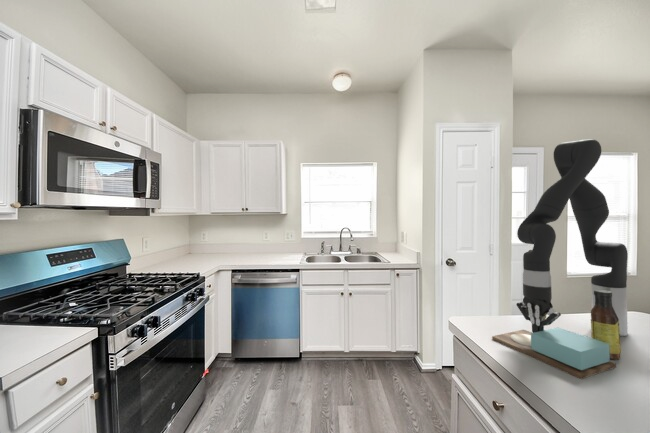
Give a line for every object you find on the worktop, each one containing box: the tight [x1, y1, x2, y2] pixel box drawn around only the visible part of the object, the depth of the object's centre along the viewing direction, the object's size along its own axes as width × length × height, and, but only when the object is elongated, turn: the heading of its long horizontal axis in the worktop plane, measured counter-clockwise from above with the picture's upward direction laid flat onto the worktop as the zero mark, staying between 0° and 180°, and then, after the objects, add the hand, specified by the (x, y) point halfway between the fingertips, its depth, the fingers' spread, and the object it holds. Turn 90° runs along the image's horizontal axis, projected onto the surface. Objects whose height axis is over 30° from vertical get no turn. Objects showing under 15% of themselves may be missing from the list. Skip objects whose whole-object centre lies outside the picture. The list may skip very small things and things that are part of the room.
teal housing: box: [531, 326, 611, 370], centre depth 83 cm, size 13×13×5 cm
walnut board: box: [491, 329, 617, 379], centre depth 88 cm, size 16×26×1 cm, turn 20°
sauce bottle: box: [590, 290, 622, 360], centre depth 85 cm, size 7×6×20 cm
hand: (537, 335), depth 91 cm, fingers closed
